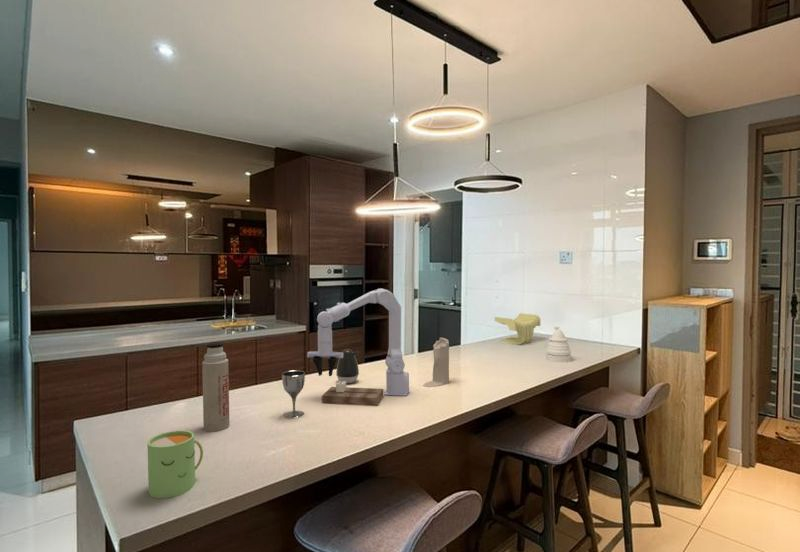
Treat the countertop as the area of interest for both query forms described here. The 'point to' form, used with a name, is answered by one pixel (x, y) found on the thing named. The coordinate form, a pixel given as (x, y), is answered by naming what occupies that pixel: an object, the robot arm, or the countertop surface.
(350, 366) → the pump dispenser
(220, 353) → the thermos bottle
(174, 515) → the countertop surface
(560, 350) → the honey pot
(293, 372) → the silver metal goblet
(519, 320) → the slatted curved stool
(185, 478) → the mug
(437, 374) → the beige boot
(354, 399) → the fader console
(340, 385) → the fader tab
